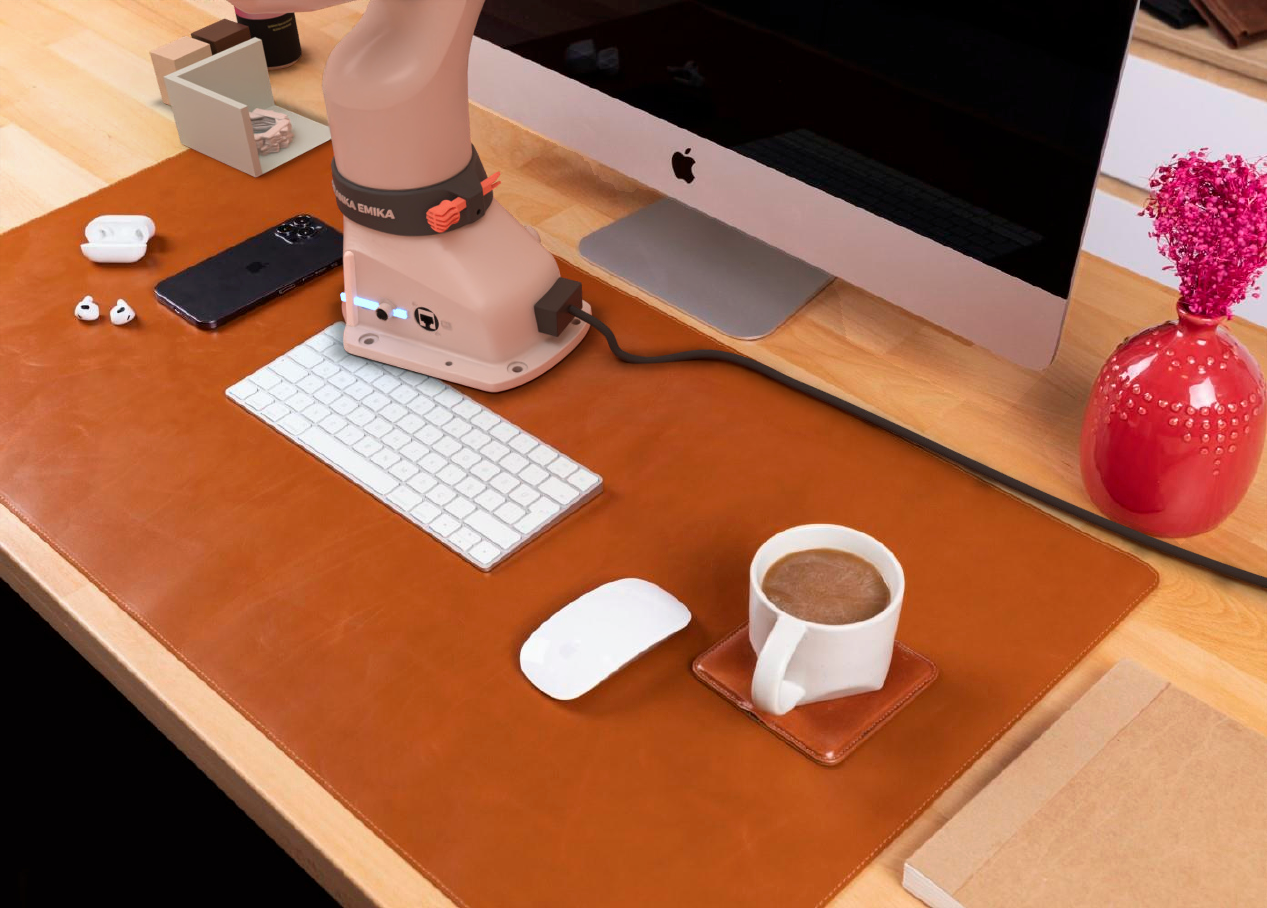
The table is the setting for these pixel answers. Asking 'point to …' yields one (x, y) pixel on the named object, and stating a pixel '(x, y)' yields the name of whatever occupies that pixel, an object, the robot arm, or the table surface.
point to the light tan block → (177, 59)
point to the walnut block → (222, 35)
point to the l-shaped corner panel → (238, 112)
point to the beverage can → (274, 36)
